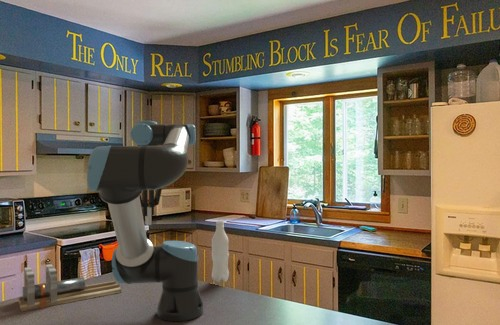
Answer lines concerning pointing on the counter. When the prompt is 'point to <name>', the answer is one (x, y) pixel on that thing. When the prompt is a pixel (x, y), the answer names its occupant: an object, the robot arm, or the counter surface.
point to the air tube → (62, 288)
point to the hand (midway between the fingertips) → (148, 224)
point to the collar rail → (55, 299)
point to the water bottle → (220, 254)
